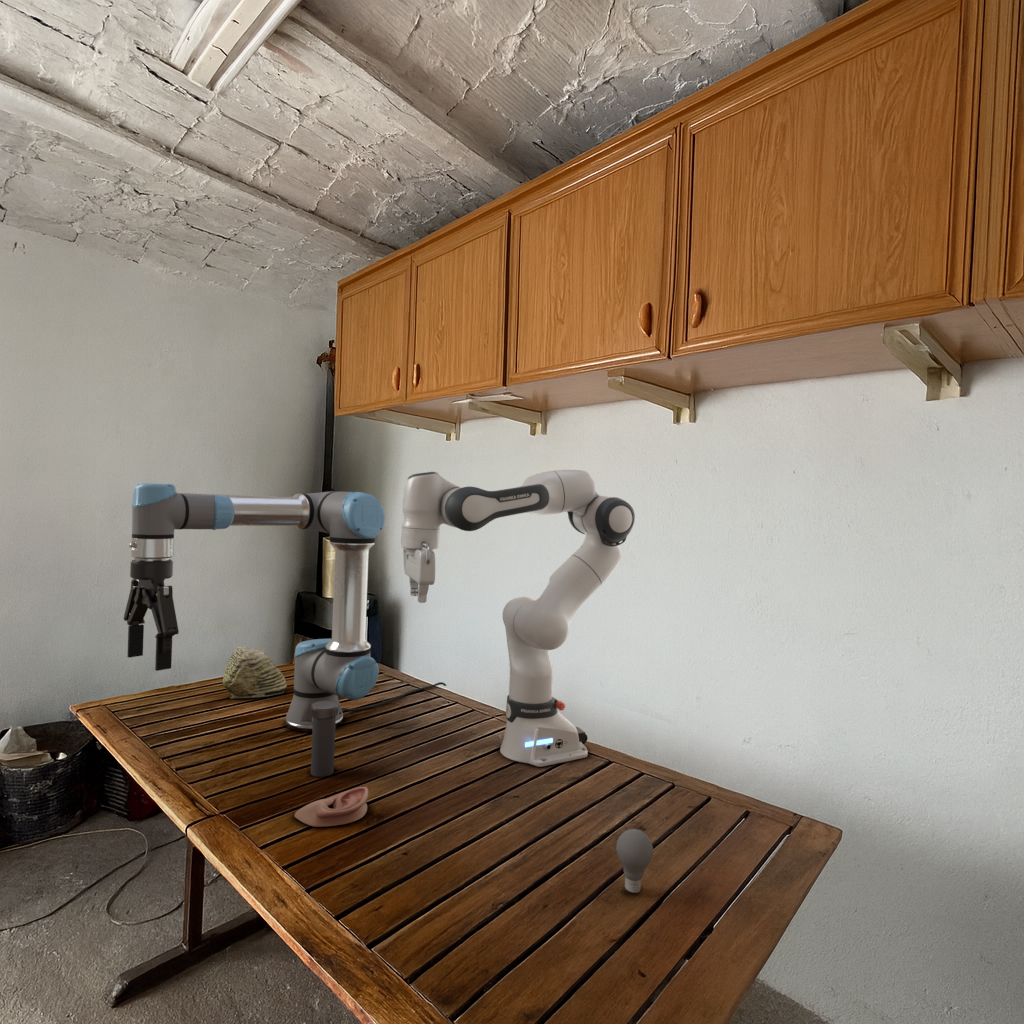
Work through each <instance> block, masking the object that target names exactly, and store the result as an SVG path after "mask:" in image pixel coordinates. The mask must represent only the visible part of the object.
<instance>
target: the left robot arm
mask: <svg viewBox="0 0 1024 1024" xmlns="http://www.w3.org/2000/svg"><path fill="white" fill-rule="evenodd" d="M385 515H386V513H385V511H384V508H383V505H382V503H381V502H380V501H379V500H378V498H377V497H375V495H373V494H370V493H367V492H363V491H362V492H361V491H337V490H336V491H335V490H333V491H332V490H330V491H321V492H311V493H295V494H294V495H293V496H276V495H275V496H274V495H273V496H272V495H248V494H247V495H246V494H244V495H243V494H220V493H219V494H218V493H217V494H216V493H215V494H214V493H189V492H187V493H186V492H177V491H176V486H175V485H174V484H173V483H152V482H139V483H137V484H136V485H135V486H134V488H133V492H132V501H131V520H132V521H131V542H130V543H128V547H129V548H130V549H131V550H130V556H131V558H133V559H132V560H131V561H130V567H129V568H130V571H129V574H130V575H129V576H130V578H131V581H130V590H129V594H128V598H127V603H126V607H125V610H124V615H123V621H124V622H126V624H127V626H128V629H127V630H128V631H127V658H135V657H142V656H144V635H145V634H144V630H145V625H144V624H145V623H146V621H145V619H144V618H145V616H146V615H147V612H148V609H149V610H151V613H152V618H153V620H154V624H155V627H156V631H157V633H156V635H155V636H154V638H155V661H154V663H155V665H154V668H155V669H154V670H155V671H157V672H159V671H164V670H169V669H172V659H173V657H172V655H173V637H175V636H176V635H179V632H180V631H179V625H178V619H177V615H176V614H177V613H176V609H175V603H174V597H173V595H174V593H173V585H165V580H167V579H171V578H172V577H173V575H174V573H173V572H174V561H173V560H172V559H171V558H173V557H174V554H175V553H174V552H175V530H213V531H215V530H224V529H228V528H230V526H233V527H234V526H237V527H238V526H240V527H243V526H246V527H247V526H249V527H250V526H258V527H259V526H268V527H269V526H276V527H277V526H282V527H284V526H285V527H286V526H287V527H288V526H289V527H290V526H291V527H293V528H294V529H296V530H308V531H309V530H310V531H316V532H319V533H325V534H329V544H330V545H331V546H332V547H333V548H334V550H335V551H334V572H333V573H334V577H333V599H332V625H331V626H332V627H331V638H317V639H308V640H304V641H300V642H299V643H297V645H296V646H295V650H294V655H293V657H294V672H293V673H294V674H293V695H292V696H293V697H292V699H291V702H290V704H289V708H288V711H287V713H286V715H285V726H286V728H287V729H289V730H291V731H294V732H295V731H296V732H301V733H312V728H313V717H312V716H311V707H312V704H313V703H315V702H319V701H334V702H336V703H338V714H337V715H336V724H335V728H337V727H339V726H340V725H342V723H343V722H344V713H343V712H358V711H363V710H368V709H373V708H375V707H376V708H377V707H379V706H383V705H385V704H388V703H391V702H393V701H395V700H398V699H400V698H403V697H405V696H408V695H410V694H414V693H416V692H419V691H423V690H428V689H431V688H434V687H437V686H440V685H441V686H442V685H443V686H444V687H447V685H448V684H446V683H445V682H442V681H441V682H439V681H438V682H437V683H434V684H432V685H431V684H430V685H427V686H423V687H419V688H415V689H413V690H409V691H407V692H404V693H402V694H400V695H397V696H395V697H391V698H390V699H388V700H385V701H382V702H378V703H375V704H371V705H367V706H362V707H356V708H355V707H354V708H347V707H346V708H345V707H342V706H341V702H340V699H339V698H341V699H342V700H343V699H344V700H348V701H349V700H350V701H357V700H360V699H362V698H364V697H365V696H367V695H368V694H370V692H371V690H372V689H374V687H375V685H376V683H377V682H378V678H379V674H380V672H379V671H380V670H379V669H380V668H379V665H378V663H377V662H376V660H375V659H374V657H371V652H372V649H371V648H372V644H371V643H370V642H368V640H367V639H366V631H367V607H368V606H367V605H368V604H367V602H368V582H369V581H368V579H369V555H370V553H369V552H370V550H371V548H372V547H374V545H375V544H376V536H378V535H379V534H380V533H381V530H383V528H384V526H385V522H386V521H385V520H386V516H385Z"/></svg>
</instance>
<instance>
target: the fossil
mask: <svg viewBox="0 0 1024 1024" xmlns="http://www.w3.org/2000/svg"><path fill="white" fill-rule="evenodd" d="M222 676H223V677H222V685H223V687H224V688H225V690H226V691H228V693H229V698H230V699H250V698H264V697H271V696H275V695H281V694H284V693H285V691H286V689H287V687H288V686H287V680H286V678H285V676H284V674H283V673H282V672H281V669H279V668H278V667H277V665H276V663H275V662H274V660H273V659H272V658H271V657H270V656H269V655H268V654H267V653H266V652H265V650H264V649H263V648H260V647H258V648H251V647H247V646H246V647H245V646H238V647H237V648H236V649H235V650H233V651H232V653H231V656H230V657H229V659H228V660H227V663H226V666H225V668H224V671H223V675H222Z"/></svg>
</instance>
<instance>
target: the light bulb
mask: <svg viewBox="0 0 1024 1024" xmlns="http://www.w3.org/2000/svg"><path fill="white" fill-rule="evenodd" d="M615 849H616V854H617V857H618V859H619V861H620V863H621V865H622V867H623V873H624V874H623V875H624V876H625V878H624V888H625V890H627V891H628V892H630V893H634V894H635V893H639V892H640V891H641V889H642V887H641V886H642V879H643V877H644V875H645V871H646V868H647V867H648V866H649V864H650V863H651V861H652V859H653V855H654V847H653V843H652V841H651V838H649V836H648V835H647V834H646V833H645V832H643V831H642V830H641V829H636V828H629V829H627V830H625V831H623V832H622V833H621V834H620V835H619V837H618V839H617V841H616V847H615Z"/></svg>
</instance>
